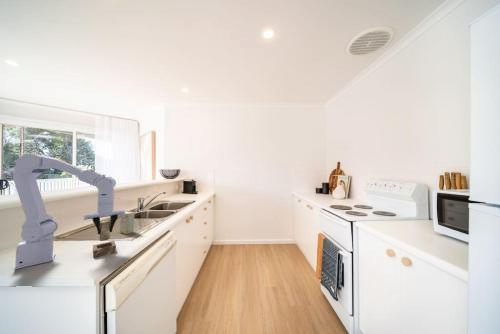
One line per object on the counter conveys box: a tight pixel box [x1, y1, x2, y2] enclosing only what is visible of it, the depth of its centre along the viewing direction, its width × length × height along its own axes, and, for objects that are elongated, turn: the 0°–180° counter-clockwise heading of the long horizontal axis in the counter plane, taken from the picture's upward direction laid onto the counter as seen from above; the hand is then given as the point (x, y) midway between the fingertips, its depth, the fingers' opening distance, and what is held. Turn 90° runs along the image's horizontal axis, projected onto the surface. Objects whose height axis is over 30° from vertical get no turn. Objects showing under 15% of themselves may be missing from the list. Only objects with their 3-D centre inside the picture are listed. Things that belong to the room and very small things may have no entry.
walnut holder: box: [92, 240, 117, 258], centre depth 79 cm, size 8×8×3 cm
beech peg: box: [99, 220, 111, 242], centre depth 79 cm, size 4×4×8 cm
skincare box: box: [119, 210, 135, 235], centre depth 105 cm, size 6×4×12 cm
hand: (104, 232), depth 79 cm, fingers closed on beech peg, 4 cm apart
